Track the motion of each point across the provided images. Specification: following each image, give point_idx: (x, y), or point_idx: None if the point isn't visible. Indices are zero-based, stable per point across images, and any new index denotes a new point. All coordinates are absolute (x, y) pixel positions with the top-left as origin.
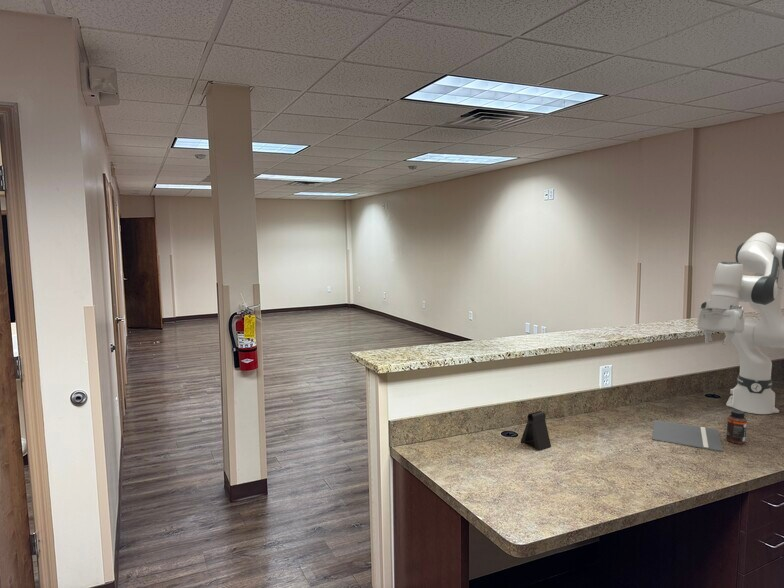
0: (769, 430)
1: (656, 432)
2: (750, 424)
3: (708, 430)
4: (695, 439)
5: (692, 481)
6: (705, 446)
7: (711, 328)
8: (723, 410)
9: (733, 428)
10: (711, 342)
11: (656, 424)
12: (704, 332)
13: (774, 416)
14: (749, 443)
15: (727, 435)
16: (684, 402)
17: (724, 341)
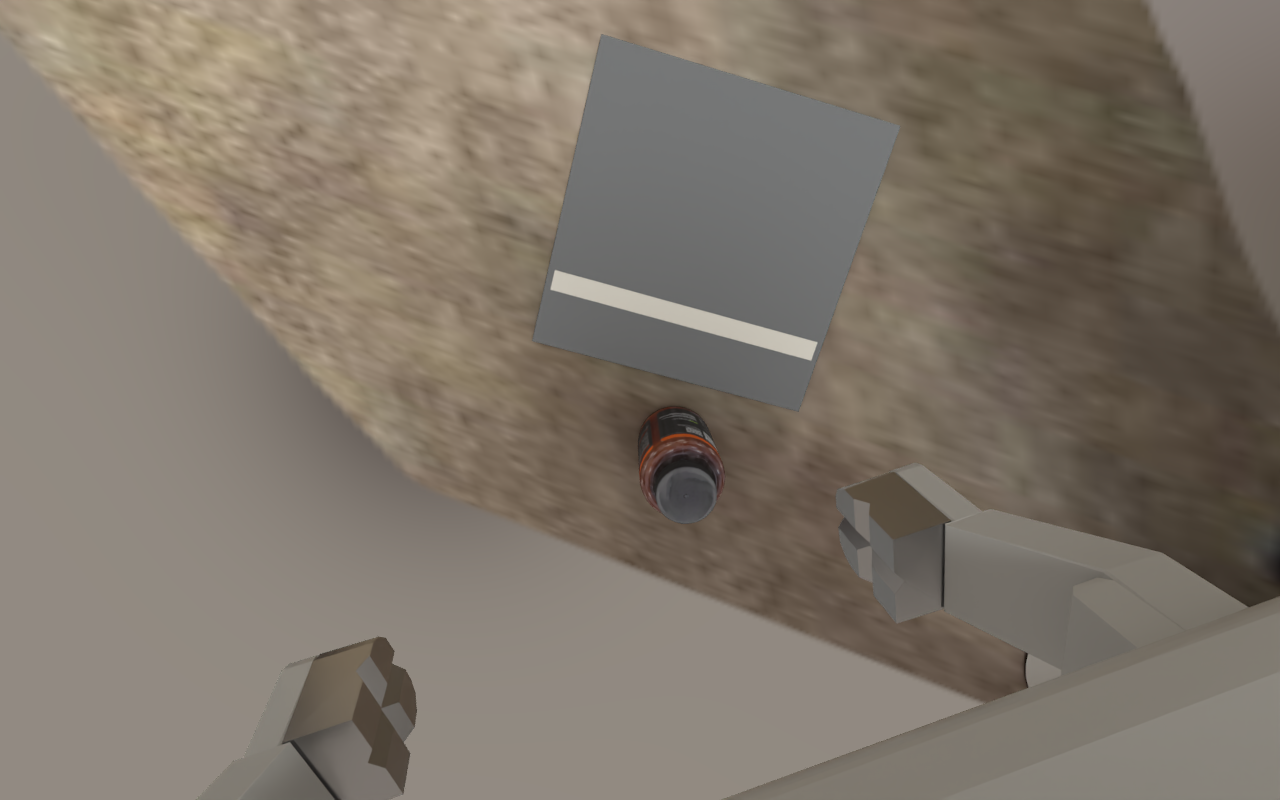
0: (830, 617)
1: (703, 85)
2: None
3: (778, 365)
4: (645, 263)
5: (158, 95)
6: (558, 279)
7: (876, 796)
8: None
9: (648, 438)
10: (849, 559)
11: (827, 120)
12: (1162, 569)
13: None
14: None
15: (672, 411)
16: (1207, 387)
17: (293, 700)
